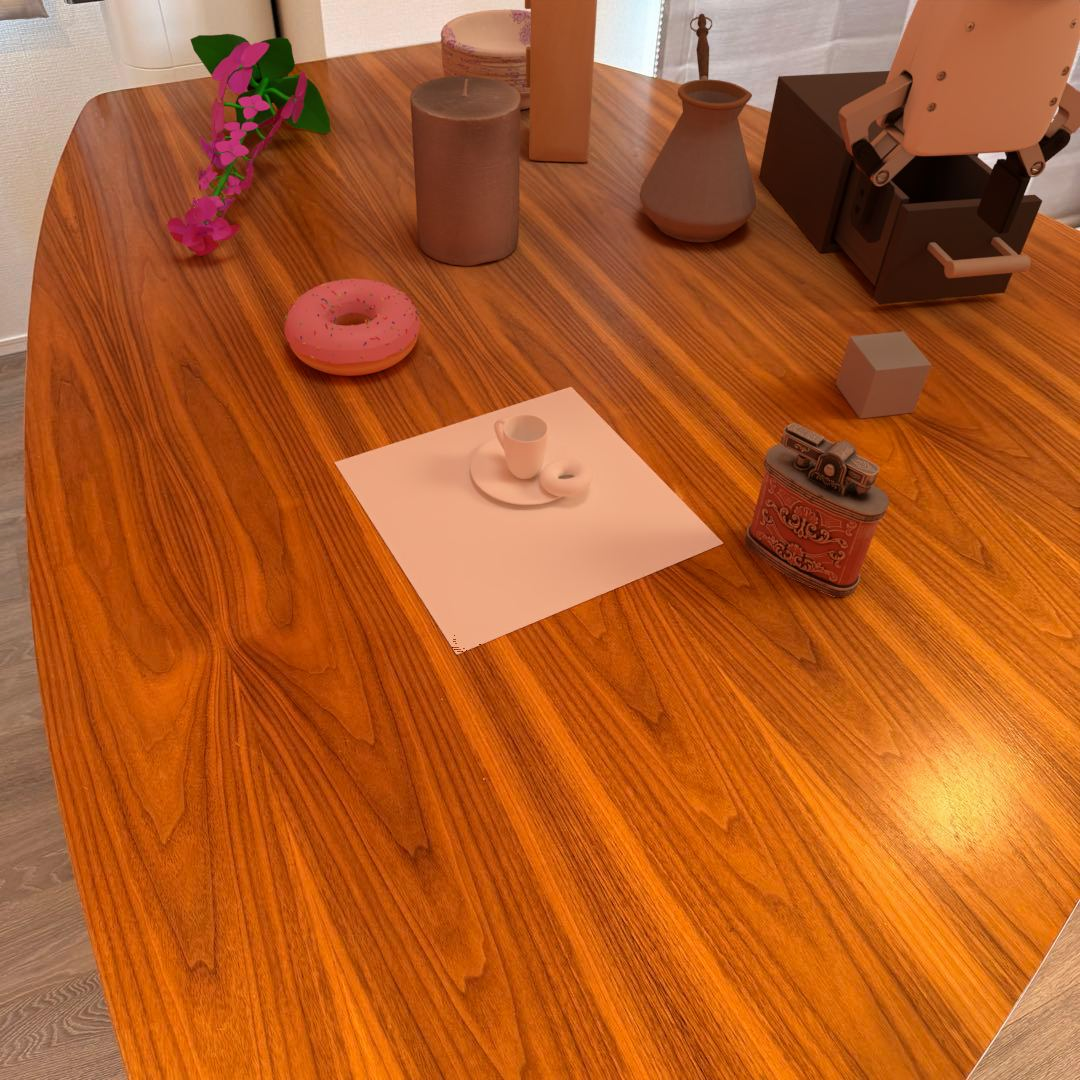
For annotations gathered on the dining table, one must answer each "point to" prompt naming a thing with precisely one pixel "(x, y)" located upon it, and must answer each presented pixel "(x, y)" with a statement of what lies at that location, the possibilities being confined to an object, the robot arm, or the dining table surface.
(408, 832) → the dining table surface
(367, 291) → the doughnut
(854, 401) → the block
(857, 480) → the lighter
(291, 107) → the pink flower sprig
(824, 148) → the dark brown boxy casing
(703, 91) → the coffee pot
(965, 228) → the drawer
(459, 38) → the paper bowls
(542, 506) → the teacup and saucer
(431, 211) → the pillar candle
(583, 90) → the toy refrigerator
